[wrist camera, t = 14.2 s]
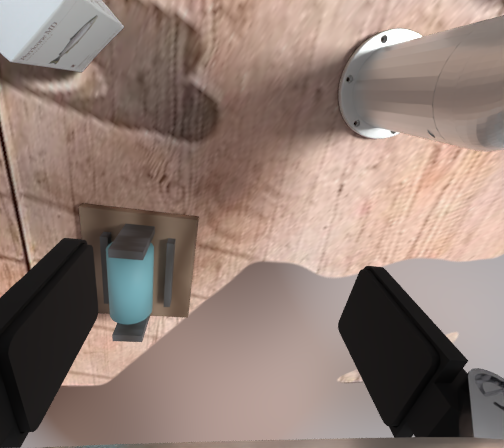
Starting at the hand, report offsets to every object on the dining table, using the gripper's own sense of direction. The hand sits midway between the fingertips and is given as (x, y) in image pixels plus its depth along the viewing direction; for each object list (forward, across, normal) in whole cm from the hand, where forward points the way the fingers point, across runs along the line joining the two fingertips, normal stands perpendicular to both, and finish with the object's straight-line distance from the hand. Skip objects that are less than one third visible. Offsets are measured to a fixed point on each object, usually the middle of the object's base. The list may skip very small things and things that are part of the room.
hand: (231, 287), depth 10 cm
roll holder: (+30, +10, +21) cm, 38 cm away
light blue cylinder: (+29, +10, +21) cm, 37 cm away
